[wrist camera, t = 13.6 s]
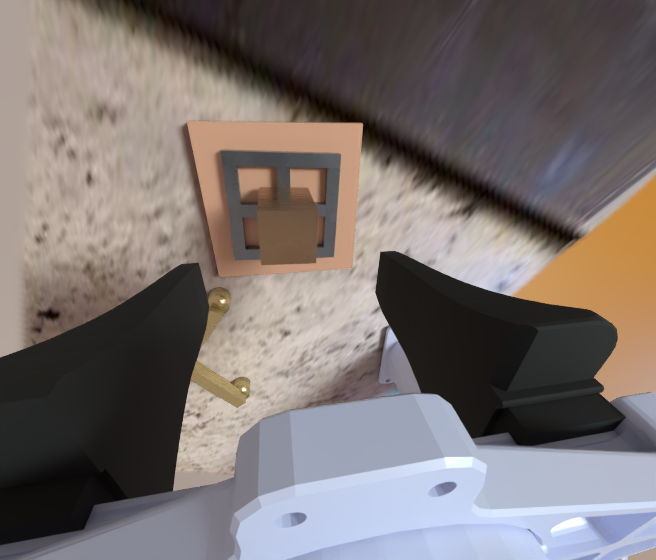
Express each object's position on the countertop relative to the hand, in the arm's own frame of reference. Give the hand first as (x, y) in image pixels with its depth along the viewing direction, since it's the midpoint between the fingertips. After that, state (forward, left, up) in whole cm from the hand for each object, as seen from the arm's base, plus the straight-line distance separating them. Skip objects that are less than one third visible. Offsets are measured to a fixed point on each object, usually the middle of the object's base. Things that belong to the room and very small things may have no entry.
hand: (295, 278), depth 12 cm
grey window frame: (0, 0, -9) cm, 9 cm away
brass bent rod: (+7, +12, -10) cm, 17 cm away
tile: (0, 0, -10) cm, 10 cm away
